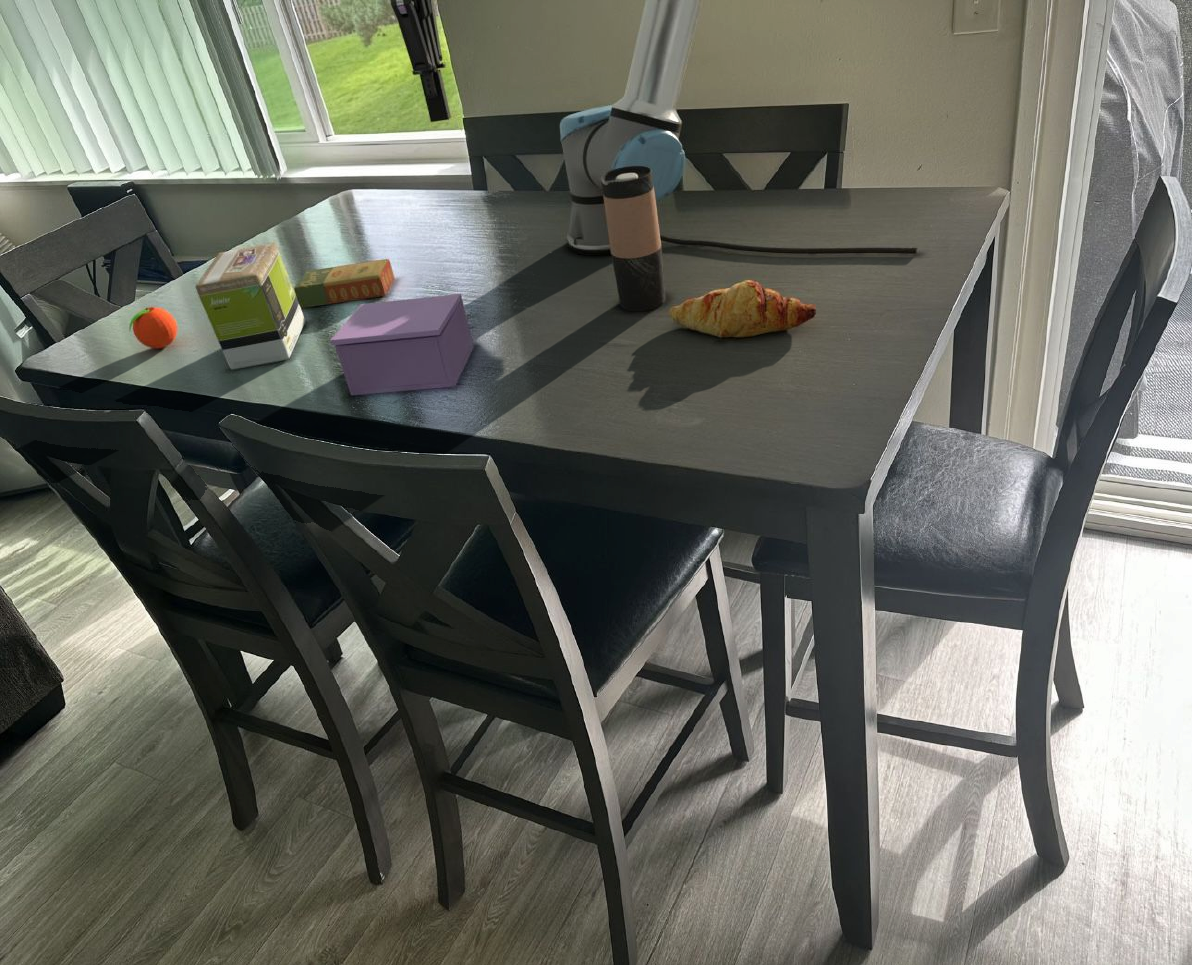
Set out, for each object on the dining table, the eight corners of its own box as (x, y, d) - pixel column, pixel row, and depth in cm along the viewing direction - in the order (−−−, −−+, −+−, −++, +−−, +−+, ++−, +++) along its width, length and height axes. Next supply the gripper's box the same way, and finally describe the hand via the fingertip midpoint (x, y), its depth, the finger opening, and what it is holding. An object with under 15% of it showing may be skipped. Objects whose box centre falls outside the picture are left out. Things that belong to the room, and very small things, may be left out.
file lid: (439, 335, 126) (438, 329, 125) (331, 345, 128) (329, 340, 128) (462, 298, 137) (461, 293, 137) (362, 308, 140) (360, 303, 139)
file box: (455, 386, 131) (441, 336, 127) (350, 395, 134) (334, 346, 129) (474, 346, 141) (462, 298, 137) (376, 355, 144) (362, 309, 140)
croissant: (668, 354, 137) (654, 321, 130) (680, 299, 141) (667, 264, 134) (815, 354, 129) (808, 319, 122) (823, 296, 133) (817, 259, 127)
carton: (386, 297, 165) (379, 274, 162) (299, 309, 166) (291, 286, 164) (395, 279, 172) (389, 257, 169) (312, 290, 173) (304, 268, 171)
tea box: (250, 332, 160) (218, 250, 152) (307, 322, 160) (278, 239, 152) (228, 371, 148) (192, 283, 139) (290, 360, 147) (258, 272, 139)
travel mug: (672, 291, 147) (658, 164, 136) (659, 312, 142) (643, 180, 131) (627, 292, 150) (609, 166, 139) (612, 312, 144) (592, 183, 133)
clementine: (153, 360, 156) (135, 321, 152) (129, 355, 160) (111, 317, 156) (192, 339, 162) (175, 301, 158) (167, 335, 165) (151, 298, 161)
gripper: (385, -67, 128) (427, 112, 141) (355, -58, 118) (404, 134, 130) (437, -76, 127) (475, 105, 140) (411, -68, 116) (455, 127, 129)
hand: (440, 119), depth 135 cm, fingers closed
